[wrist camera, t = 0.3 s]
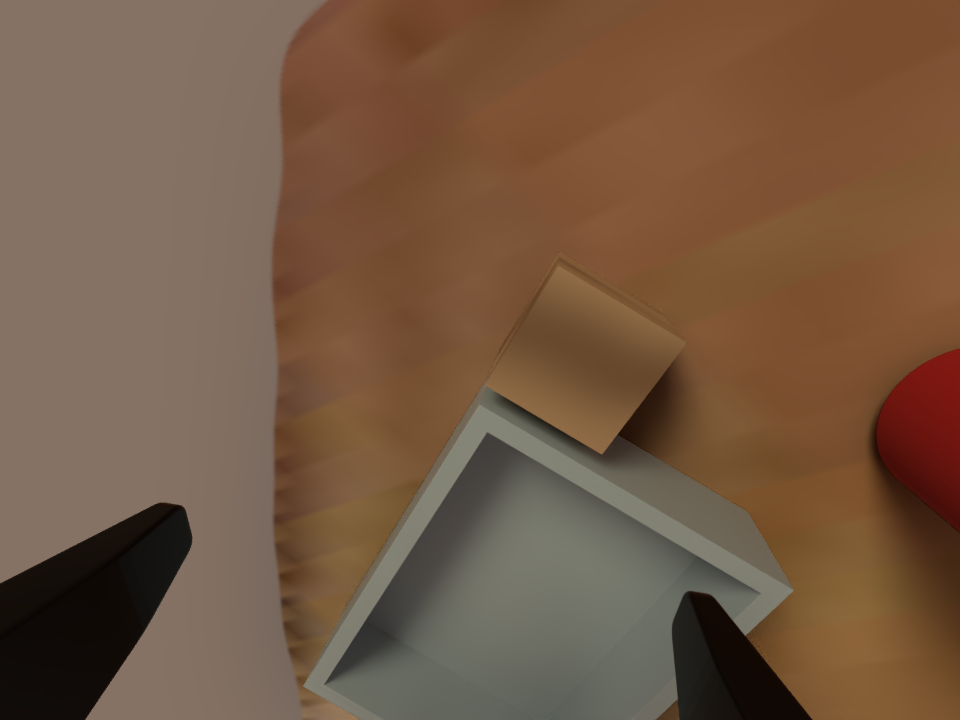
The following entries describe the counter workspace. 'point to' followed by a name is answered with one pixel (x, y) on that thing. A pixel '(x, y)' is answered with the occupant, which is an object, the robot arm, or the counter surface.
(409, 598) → the tote
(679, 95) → the counter surface
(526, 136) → the counter surface
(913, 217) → the counter surface
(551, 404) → the walnut cube
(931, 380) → the beverage can
